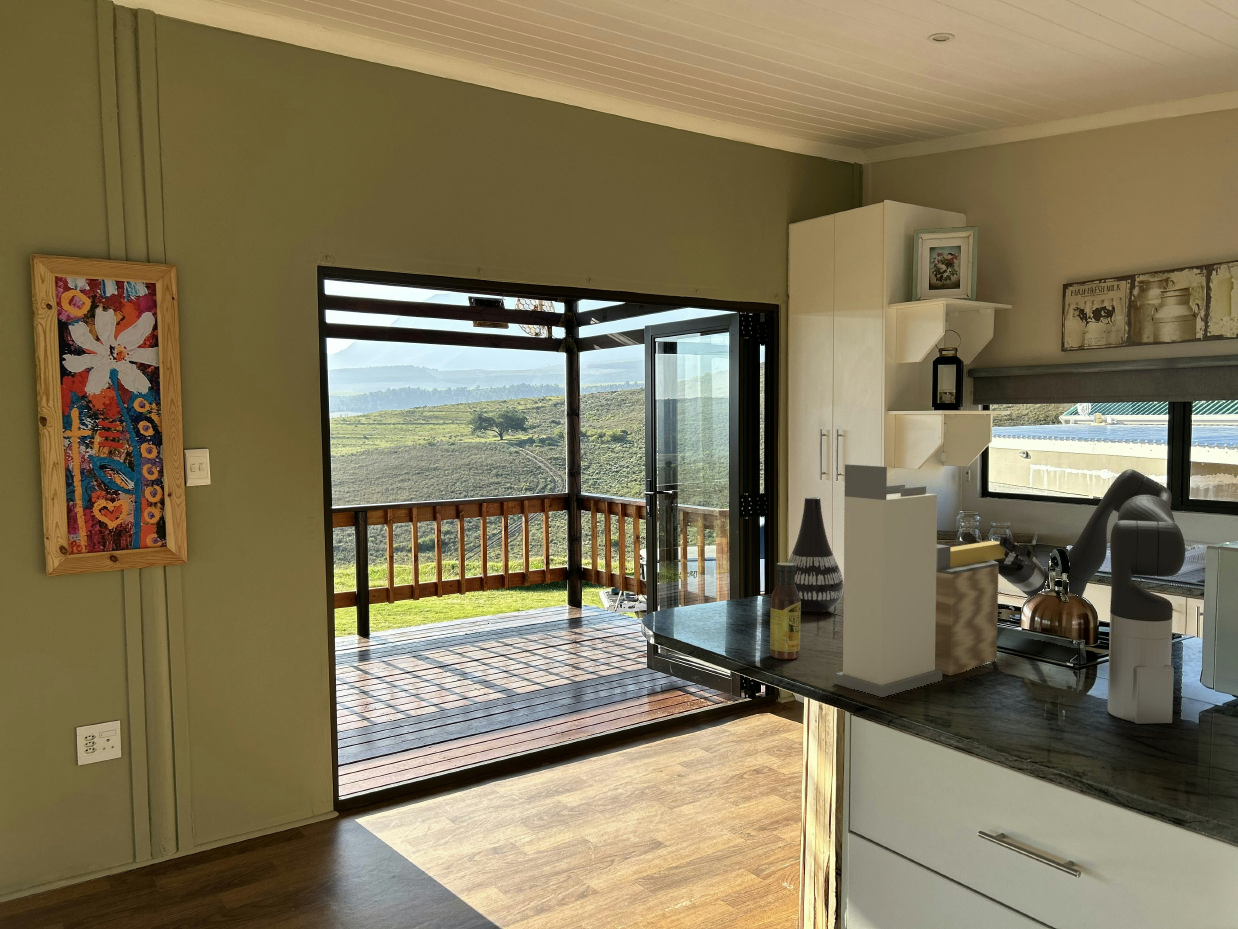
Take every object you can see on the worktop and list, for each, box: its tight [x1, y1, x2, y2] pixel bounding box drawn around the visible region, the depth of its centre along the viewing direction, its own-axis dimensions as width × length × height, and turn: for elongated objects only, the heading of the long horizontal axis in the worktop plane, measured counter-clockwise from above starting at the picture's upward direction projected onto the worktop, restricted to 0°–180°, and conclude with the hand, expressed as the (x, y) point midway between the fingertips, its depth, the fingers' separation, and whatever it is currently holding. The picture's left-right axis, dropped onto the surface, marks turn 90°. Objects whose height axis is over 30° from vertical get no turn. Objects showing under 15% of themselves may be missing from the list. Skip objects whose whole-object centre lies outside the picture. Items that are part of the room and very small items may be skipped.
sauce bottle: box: [769, 562, 801, 660], centre depth 195 cm, size 6×6×20 cm
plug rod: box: [936, 540, 1006, 570], centre depth 190 cm, size 24×4×4 cm, turn 125°
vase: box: [786, 496, 844, 615], centre depth 237 cm, size 16×16×30 cm
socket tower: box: [834, 463, 943, 698], centre depth 176 cm, size 18×11×42 cm, turn 126°
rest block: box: [935, 560, 999, 676], centre depth 189 cm, size 16×9×21 cm, turn 126°
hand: (983, 537), depth 194 cm, fingers open, 8 cm apart
